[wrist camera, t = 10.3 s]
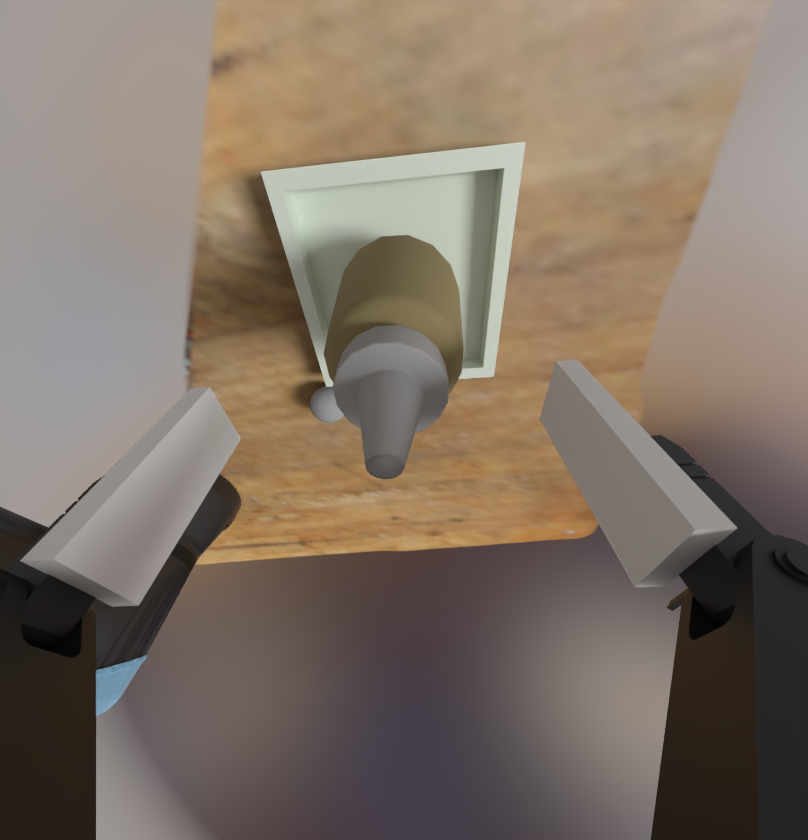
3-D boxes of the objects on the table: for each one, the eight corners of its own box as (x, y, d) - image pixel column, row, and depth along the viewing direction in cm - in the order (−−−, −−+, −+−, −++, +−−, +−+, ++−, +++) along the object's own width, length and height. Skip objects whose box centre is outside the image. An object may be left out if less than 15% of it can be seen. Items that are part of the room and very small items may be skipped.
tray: (331, 372, 29) (326, 386, 27) (275, 171, 19) (260, 171, 17) (488, 362, 28) (493, 376, 26) (513, 144, 18) (525, 141, 16)
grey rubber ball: (320, 408, 31) (312, 430, 29) (310, 380, 29) (300, 401, 26) (353, 406, 31) (348, 429, 29) (346, 377, 29) (339, 399, 26)
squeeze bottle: (332, 306, 24) (221, 492, 10) (378, 198, 19) (294, 263, 5) (416, 353, 26) (423, 553, 12) (475, 268, 22) (588, 435, 8)
